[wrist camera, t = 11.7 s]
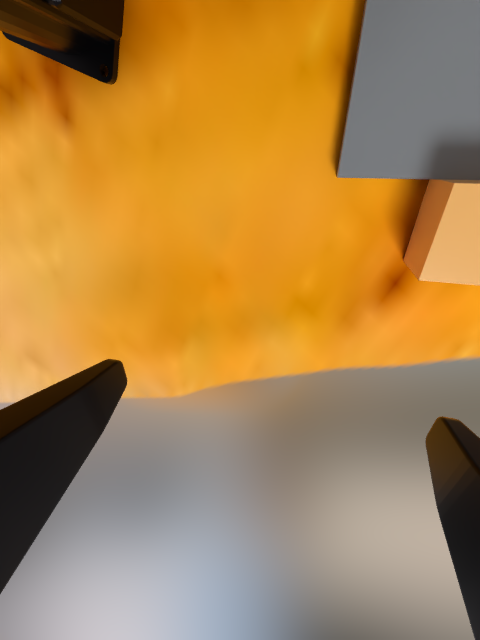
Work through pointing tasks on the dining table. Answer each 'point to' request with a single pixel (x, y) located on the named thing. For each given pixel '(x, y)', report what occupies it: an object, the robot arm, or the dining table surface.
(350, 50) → the dining table surface
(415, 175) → the lid
